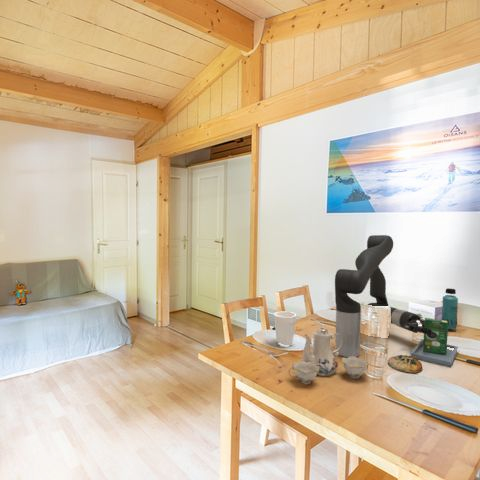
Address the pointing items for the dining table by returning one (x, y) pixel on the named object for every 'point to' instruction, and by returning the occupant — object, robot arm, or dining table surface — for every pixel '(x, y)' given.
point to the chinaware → (325, 359)
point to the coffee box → (436, 336)
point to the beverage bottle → (450, 308)
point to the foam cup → (285, 327)
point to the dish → (434, 355)
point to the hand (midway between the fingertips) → (439, 331)
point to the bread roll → (405, 363)
